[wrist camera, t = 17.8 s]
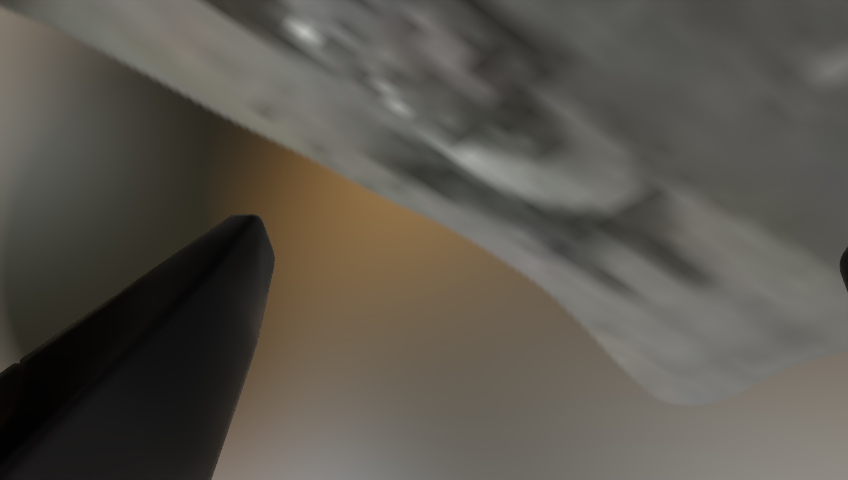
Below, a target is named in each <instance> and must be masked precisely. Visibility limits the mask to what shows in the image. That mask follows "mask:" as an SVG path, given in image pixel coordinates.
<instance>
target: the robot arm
mask: <svg viewBox="0 0 848 480" xmlns="http://www.w3.org/2000/svg"><path fill="white" fill-rule="evenodd" d="M273 268H274V252H273V249H272V246H271V243H270V241H269V238H268V235H267V232H266V230H265V227H264V224H263V222H262V219H261V218H260V217H259V216H257V215H255V214H235V215H231V216H230V217H228V218H227V219H225V220H224V221H222V222H221V223H219V224H218V225H216V226H215V227H213V228H212V229H210V230H209V231H208V232H206V233H205V234H203V235H202V236H200V237H199V238H197V239H196V240H194V241H193V242H191V243H190V244H188V245H187V246H186V247H184V248H183V249H181V250H180V251H178V252H177V253H175V254H174V255H172V256H171V257H170V258H168V259H167V260H165V261H164V262H162V263H161V264H159V265H158V266H157V267H155V268H153V269H152V270H150V271H149V272H148V273H146V274H145V275H143V276H142V277H140V278H139V279H137V280H136V281H134V282H133V283H131V284H130V285H128V286H127V287H126V288H124V289H123V290H121V291H120V292H118V293H117V294H115V295H114V296H112V297H111V298H109V299H108V300H106V301H105V302H104V303H102V304H101V305H99V306H98V307H96V308H95V309H93V310H92V311H90V312H89V313H88V314H86V315H85V316H83V317H82V318H80V319H79V320H77V321H76V322H74V323H73V324H71V325H70V326H68V327H67V328H65V329H64V330H63V331H61V332H60V333H58V334H57V335H55V336H54V337H52V338H51V339H49V340H48V341H46V342H45V343H44V344H42V345H41V346H39V347H38V348H36V349H35V350H33V351H32V352H30V353H29V354H28V355H26V356H25V357H23V358H22V359H21V360H20V363H15V364H13V365H11V366H10V367H8V368H7V369H5V370H4V371H3V372H1V373H0V480H211V479H212V476H213V473H214V470H215V467H216V464H217V461H218V458H219V456H220V453H221V450H222V446H223V444H224V441H225V438H226V435H227V432H228V429H229V426H230V423H231V420H232V417H233V415H234V412H235V408H236V406H237V403H238V400H239V397H240V394H241V391H242V388H243V385H244V382H245V379H246V377H247V374H248V370H249V368H250V364H251V362H252V359H253V356H254V352H255V349H256V346H257V341H258V337H259V334H260V329H261V324H262V320H263V315H264V310H265V306H266V300H267V296H268V292H269V287H270V282H271V278H272V273H273ZM840 272H841V275H842V278H843V281H844V283H845V286H846V289H847V291H848V247H847V249H846V250H845V252H844V253H843V255H842V257H841V260H840Z"/></svg>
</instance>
